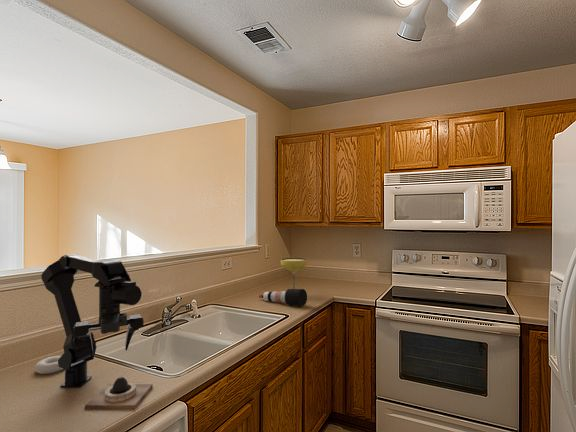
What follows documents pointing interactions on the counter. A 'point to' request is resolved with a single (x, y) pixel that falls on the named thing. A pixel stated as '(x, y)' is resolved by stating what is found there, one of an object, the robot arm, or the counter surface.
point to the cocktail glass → (293, 265)
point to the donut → (48, 365)
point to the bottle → (287, 297)
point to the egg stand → (119, 397)
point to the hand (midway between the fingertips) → (109, 352)
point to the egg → (120, 386)
